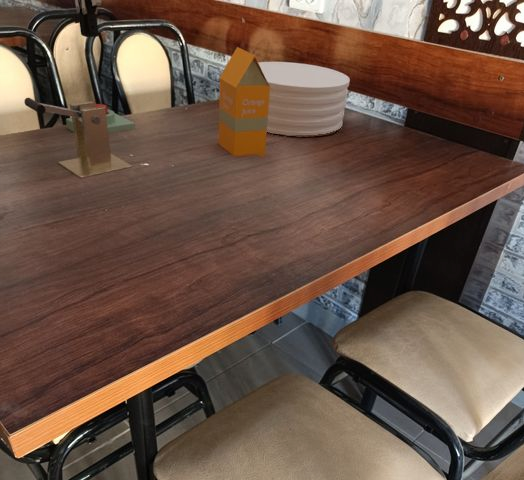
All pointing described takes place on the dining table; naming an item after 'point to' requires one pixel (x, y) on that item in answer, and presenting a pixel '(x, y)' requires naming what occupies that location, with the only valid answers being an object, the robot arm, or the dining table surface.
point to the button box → (110, 123)
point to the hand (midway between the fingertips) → (90, 35)
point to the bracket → (92, 143)
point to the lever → (52, 109)
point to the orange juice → (243, 105)
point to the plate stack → (304, 98)
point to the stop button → (102, 106)
